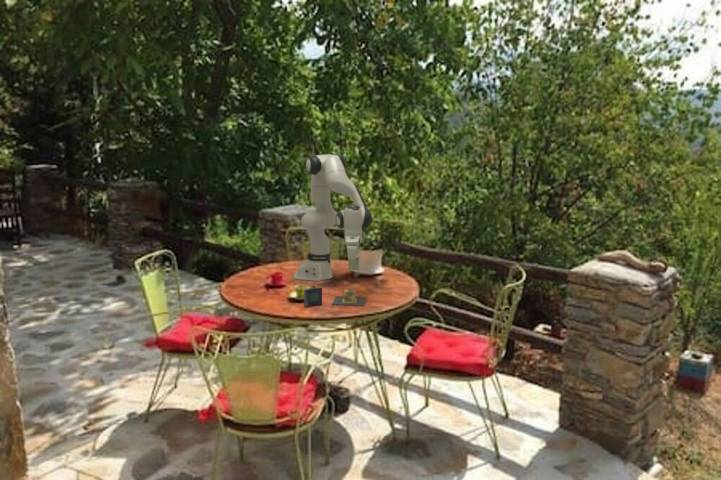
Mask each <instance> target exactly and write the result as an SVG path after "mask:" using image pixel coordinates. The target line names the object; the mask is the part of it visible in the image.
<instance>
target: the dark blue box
mask: <svg viewBox="0 0 721 480" xmlns="http://www.w3.org/2000/svg"><path fill="white" fill-rule="evenodd" d="M310 285H311V286H310V287H306V288H304V289H303V301H304V302H303V304H304V305H303V306H304V307H305V308H311V307H317V306H318V307H319V306H322V305H323V287H321V286H319V285H317V286H316V285H314V283H312V284H310Z"/></svg>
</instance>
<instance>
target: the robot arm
mask: <svg viewBox="0 0 721 480" xmlns="http://www.w3.org/2000/svg"><path fill="white" fill-rule="evenodd" d="M305 166H306V171H307V173H308V174H309V175H310V176H311V177H310V200H311V201H312V203H314V205H315V210H312V211H311V210H310V211H308V212H307V213H305V214H303V215H302V217H301V219H300V221H301V226H302V228H303V229H304V230H305V231H306V232H307V234H308V236H309V240H310V242H309V244H310V251H308V252H307V254H306V260H305V261H303V262H302V263H300V265H299V266H298V267H297V272H295V273H294V275H293V279H294V280H301V281H302V280H304V281H315V282H320V281H325V280H330V279H332V278H333V277H334V275H333V271H332V266H331V262H332V255H331V240H330V238H329V237H328V236H327V235H326V232H325V229H327V228H331V227H333V226H334V225H336V226H337V227H338V228H339V229H341V230H344V243H345V245H346V252H347V254H346V255H347V259H348V260H349V261H351V267H352V268H354V267H355V260H356V258H358V256H359V253H360V245H361V243H362V242H363V229H368V228H369V227H370V226H371V224H372V223H373V216H372V215H373V214H372V213H371V211H370V210H369V208H368V207H367V204H366V202H365V201H364V198H363V196H362V194H361V192H360V190H359V187H358V186H357V185H356V183H355V182H354V181H353V182H352V180H351V179H350V178H349V177H348V175H347V172H346V168H347V161H346V158H345V157H344V155H340V154H330V153H329V154H327V153H326V154H317V155H316V154H313V155H310V156H308V157H307V159H306V162H305ZM331 191H332V192H334V193H337V194H341V195H344V196H347V197H348V198H350V199H351V200H352V202H353V204H347V205H346V206H345V208H344V209H343V210H339V211H338V212H337V211H336V210H335V209H334V207H333V205H332V201H331V200H332V199H331Z"/></svg>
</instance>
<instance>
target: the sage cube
mask: <svg viewBox="0 0 721 480" xmlns="http://www.w3.org/2000/svg"><path fill="white" fill-rule="evenodd" d="M347 263H348V265H347V266H348V271H359V270H360V257H357V258H356V260H355V267H354V268H352V267H351V261H349V260H348V261H347Z"/></svg>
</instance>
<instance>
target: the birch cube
mask: <svg viewBox="0 0 721 480" xmlns="http://www.w3.org/2000/svg"><path fill="white" fill-rule="evenodd" d="M343 296H344V302H354V301H355V297H356V289H354V288H353V289H350V288H349V289H348V288H345V289H344V291H343Z"/></svg>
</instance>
